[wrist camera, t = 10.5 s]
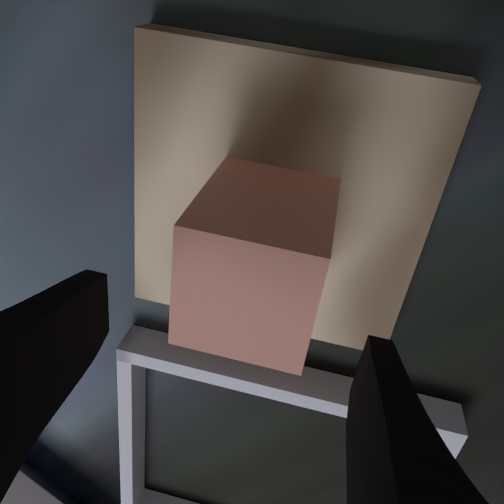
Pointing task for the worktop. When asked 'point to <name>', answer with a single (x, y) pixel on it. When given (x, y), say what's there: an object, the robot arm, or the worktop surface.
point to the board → (298, 155)
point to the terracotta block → (252, 263)
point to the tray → (237, 378)
